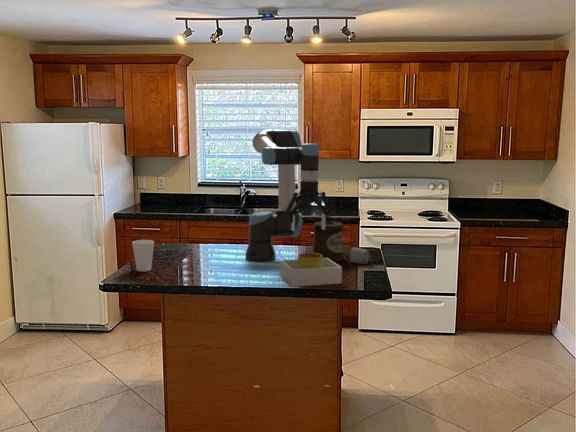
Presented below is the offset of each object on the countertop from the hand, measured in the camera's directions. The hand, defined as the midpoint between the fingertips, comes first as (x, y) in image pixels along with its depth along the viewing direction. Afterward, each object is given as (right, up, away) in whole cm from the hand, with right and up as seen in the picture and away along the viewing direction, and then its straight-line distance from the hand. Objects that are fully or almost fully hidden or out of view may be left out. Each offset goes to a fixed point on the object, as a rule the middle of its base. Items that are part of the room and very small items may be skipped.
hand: (308, 229), depth 232 cm
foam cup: (-74, -19, +15) cm, 78 cm away
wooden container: (+11, -16, +42) cm, 46 cm away
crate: (+1, -21, +1) cm, 21 cm away
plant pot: (+1, -21, +1) cm, 21 cm away
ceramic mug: (+27, -17, +34) cm, 46 cm away
